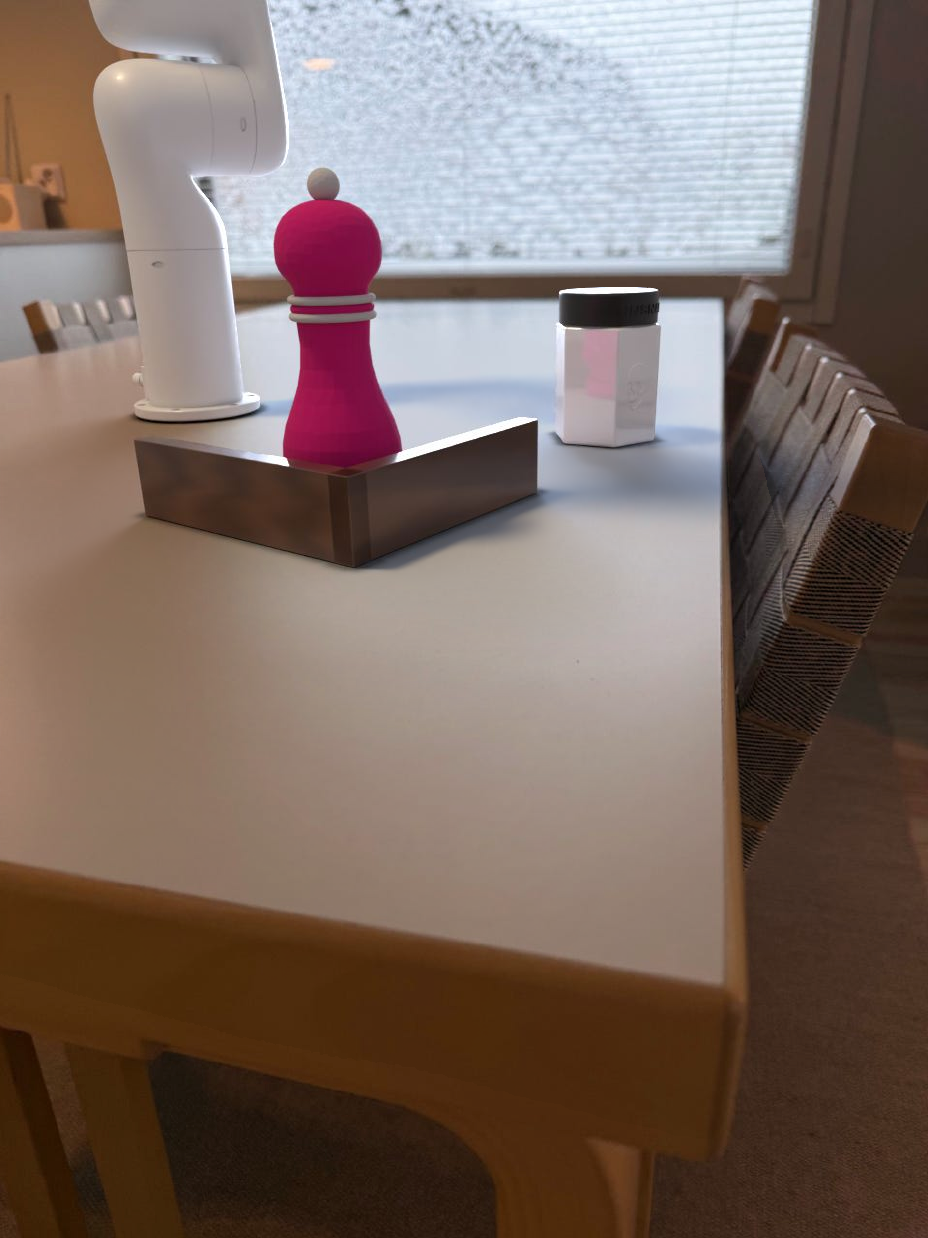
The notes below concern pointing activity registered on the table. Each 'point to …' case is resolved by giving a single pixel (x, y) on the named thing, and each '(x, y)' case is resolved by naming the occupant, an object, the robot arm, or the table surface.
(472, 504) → the corner stop
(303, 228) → the pepper mill
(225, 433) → the table surface
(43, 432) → the table surface
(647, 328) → the jar
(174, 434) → the table surface
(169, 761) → the table surface
